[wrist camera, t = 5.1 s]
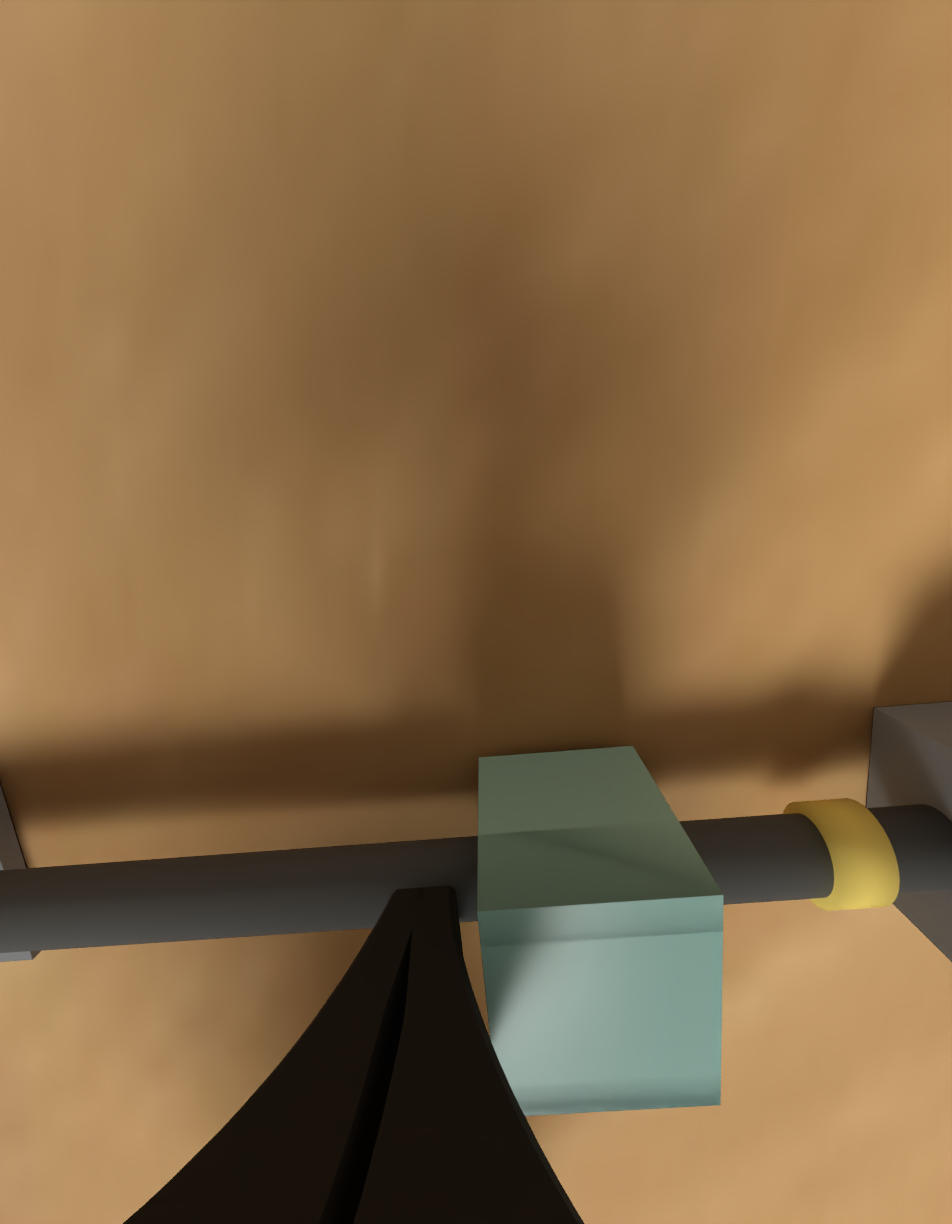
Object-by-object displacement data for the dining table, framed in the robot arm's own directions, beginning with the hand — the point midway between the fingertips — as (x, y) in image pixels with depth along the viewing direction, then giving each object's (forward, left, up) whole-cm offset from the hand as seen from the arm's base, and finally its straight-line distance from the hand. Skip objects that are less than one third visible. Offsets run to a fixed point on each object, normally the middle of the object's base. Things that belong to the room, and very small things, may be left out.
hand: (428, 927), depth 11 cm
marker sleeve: (0, -3, -4) cm, 5 cm away
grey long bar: (0, +1, -4) cm, 4 cm away
